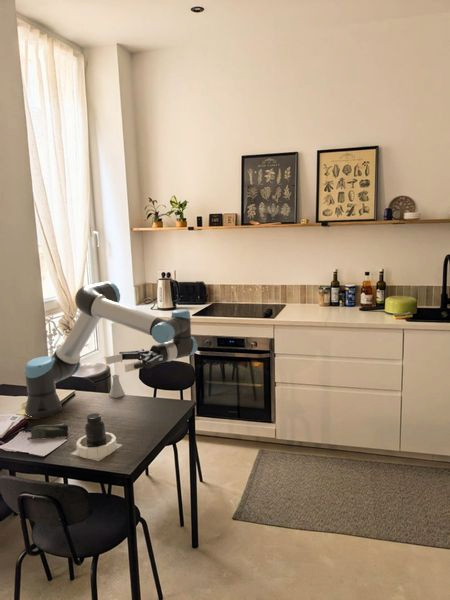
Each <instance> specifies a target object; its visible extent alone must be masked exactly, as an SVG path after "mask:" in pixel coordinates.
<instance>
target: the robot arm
mask: <svg viewBox="0 0 450 600" xmlns="http://www.w3.org/2000/svg"><path fill="white" fill-rule="evenodd" d="M74 300H75V303H74V304H75V306H76V307H77V309H78V310H79V311H80V314H79V316H78V317H77V319H76V321H75V323H74V325H72V328H71V330H70V332H69V333H68V335H67V337H66V339H65V340H64V342H63V344H62V345H61V346H58V347H57V348H56V349H55V351H54V353H53V354H52V356H47V355H46V356H40V357H35V358H33V359H30V360H29V361H27V362H26V364H25V365H24V367H25V368H24V370H25V371H24V376H25V381H26V391H27V400H26V405H25V408H24V414H25V413H26V414H27V415H29V416H32V417H35V418H45V417H50V416H53V415H56V414H57V413H59V412H61V411H62V408H63V406H62V405H63V404H62V402H61V400H60V398H59V396H58V394H57V391H56V390H57V388H56V384H57V383H59V382H61V381H62V380H63V381H64V380H65V379H67V378H71V377H72V376H74V375H75V374H76V373H77V372H78V371H79V370H80V368H81V355H80V354H81V352H82V351H83V349H84V348H85V346H86V344H87V342H88V341H89V339H90V337H91V335H92V334H93V332H94V331H95V329H96V327H97V325H98V324H99V322H100V320H101V319H102V318H103V319H105V320H108V321H111V322H113V323H116V324H119V325H120V326H121V325H122V326H123V327H127V328H130V329H133V330H135V331H137V332H140V333H143V334H146V335H149V336H151V337H152V339H153V340H154V341H155V342H156V343H157V344H154V345H152V346H151V347H150V348H149V350H148V349H144V348H141V349H137V350H128V351H119V353H118V354H113V355H110V356H106V357H105V362H106V365H107V366H108V365H110V364H115V363H119V362H121V363H122V362H124V361H123V360H125V361H127V360H131V361H132V360H137V361H132V362H129V363H126V364H124V372H125V373H128V372H132V371H137V370H139V369H152V368H153V367H154V366H156V365H159V364H162V363H163V364H164V363H165V362H171V361H173V360H177V359H180V358H185V357H189V356H192V355H194V354H195V353H196V352H197V351H198V346H199V345H198V343H197V340H196V338H195V337H194V336H192V329H191V328H192V327H191V323H192V322H191V321H192V320H191V319H192V318H191V312H190V311H189V310H188V309H175V310H173V311H171V318H169V319H163V318H161V317H158V316H155V315H152V314H150V313H146V312H143V311H140V310H138V309H135V308H132V307H129V306H127V305H124V304H121V303H120V300H121V293H120V290H119V288H118V286H117V285H116V284H115V283H113V282H111V281H100V282H96V283H91V284H86V285H84V286H81V287H80V288H79V289H78V290H77V292H76V294H75V298H74ZM26 414H25V415H26ZM32 417H31V418H32ZM35 418H34V419H35Z"/></svg>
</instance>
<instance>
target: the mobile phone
mask: <svg viewBox="0 0 450 600" xmlns="http://www.w3.org/2000/svg"><path fill="white" fill-rule="evenodd" d="M68 430H69V429H68V425H67V424H39V425H35V426H33V427H31V429H30V435H31V436H29V437H27V440H34V439H35V440H36V439H38V440H41V439H42V438H45V439H56V438H65V437H67V436H68V435H69V431H68Z"/></svg>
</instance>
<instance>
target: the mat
mask: <svg viewBox="0 0 450 600" xmlns="http://www.w3.org/2000/svg"><path fill="white" fill-rule="evenodd" d="M122 446H123V444H121V443H118V442H116V449H115V451H116V450H117V449H119V448H121V447H122ZM70 455H73V456H77V457H80V456H79V455H78V453H77V449H76V450H74V451H72V452H71V453H70ZM105 457H107V456H103V457H100V458H90V459H89V460H92V461H97V462H100V461H101V460H103V459H104V458H105Z"/></svg>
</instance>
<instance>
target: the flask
mask: <svg viewBox="0 0 450 600" xmlns="http://www.w3.org/2000/svg"><path fill="white" fill-rule="evenodd" d="M111 377H112V384H111V388H110V391H109V394H108V396H109V397H110V398H113V399H119V398H122V397H124V396H125V395H126V393H125V391H124V389H123V386H122V385H121V382H120V374H113V375H111Z"/></svg>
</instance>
